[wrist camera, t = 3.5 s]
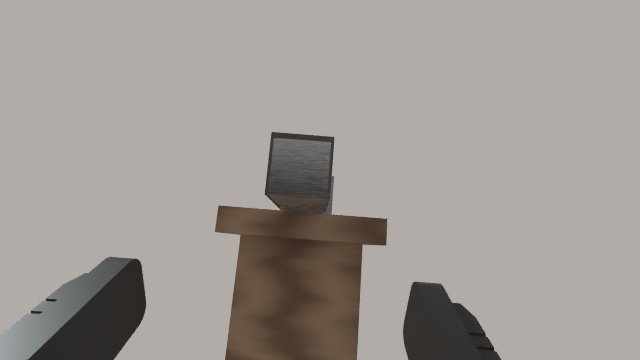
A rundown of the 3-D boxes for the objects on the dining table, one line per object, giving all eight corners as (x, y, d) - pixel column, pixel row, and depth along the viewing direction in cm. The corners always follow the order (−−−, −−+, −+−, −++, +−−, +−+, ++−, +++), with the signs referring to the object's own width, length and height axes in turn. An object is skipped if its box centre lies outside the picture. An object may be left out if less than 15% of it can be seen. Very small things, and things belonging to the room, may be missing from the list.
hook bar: (247, 192, 16) (257, 111, 17) (285, 220, 37) (288, 183, 37) (346, 200, 16) (351, 118, 17) (328, 224, 37) (330, 186, 37)
